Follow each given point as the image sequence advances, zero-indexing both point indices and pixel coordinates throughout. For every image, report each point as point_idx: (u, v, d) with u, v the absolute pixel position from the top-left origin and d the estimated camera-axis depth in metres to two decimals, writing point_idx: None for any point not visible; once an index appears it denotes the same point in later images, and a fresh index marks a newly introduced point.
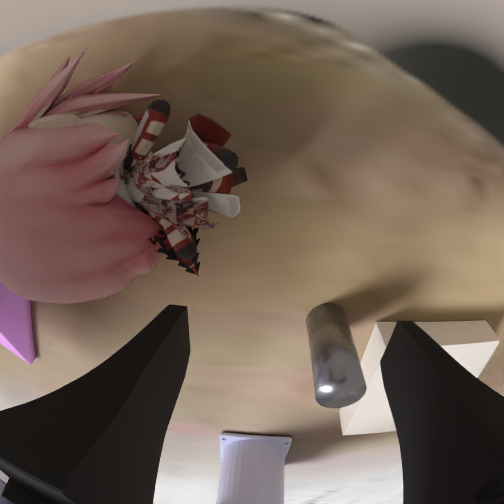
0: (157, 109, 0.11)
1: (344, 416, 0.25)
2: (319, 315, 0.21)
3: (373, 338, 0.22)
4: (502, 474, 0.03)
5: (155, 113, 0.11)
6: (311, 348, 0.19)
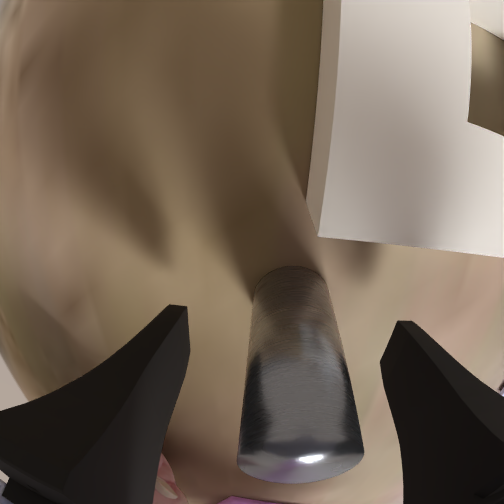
0: None
1: None
2: None
3: None
4: (502, 474, 0.03)
5: None
6: None
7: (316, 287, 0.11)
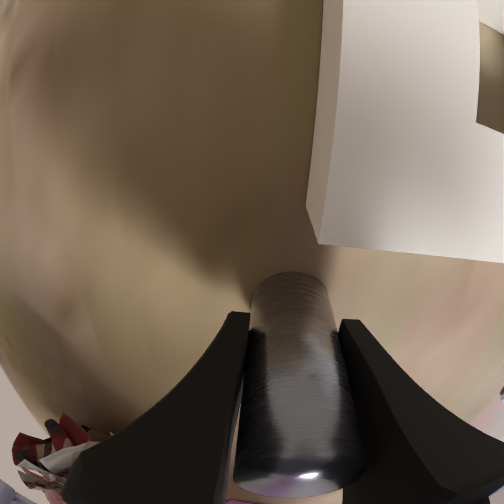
0: None
1: None
2: None
3: None
4: (424, 503, 0.03)
5: None
6: None
7: (316, 294, 0.10)
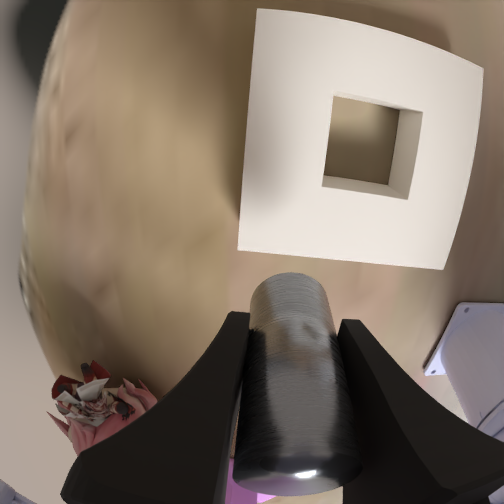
0: (58, 399, 0.19)
1: None
2: None
3: None
4: (424, 503, 0.03)
5: (59, 401, 0.19)
6: None
7: (316, 295, 0.10)
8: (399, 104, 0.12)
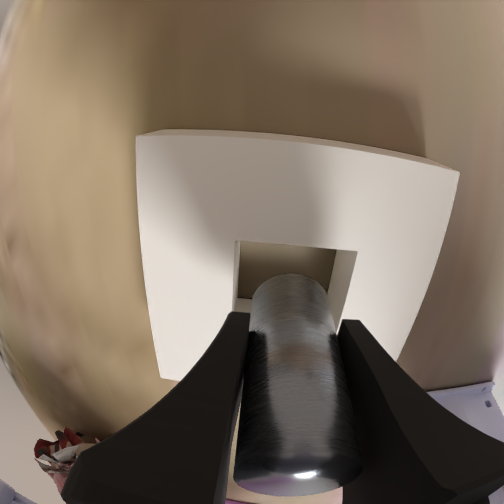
0: None
1: None
2: None
3: None
4: (424, 503, 0.03)
5: None
6: None
7: (318, 297, 0.10)
8: (324, 246, 0.11)
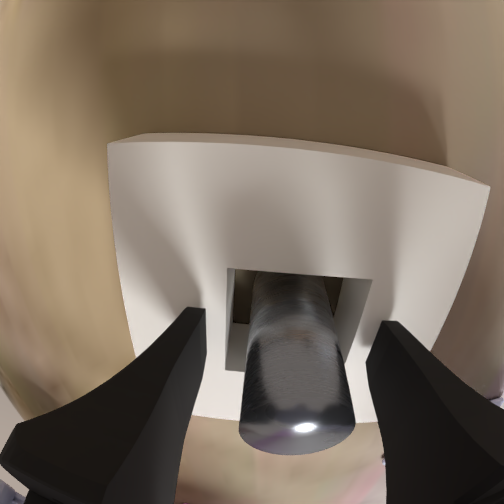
0: None
1: None
2: None
3: None
4: (482, 483, 0.03)
5: None
6: None
7: (314, 276, 0.12)
8: (333, 274, 0.09)
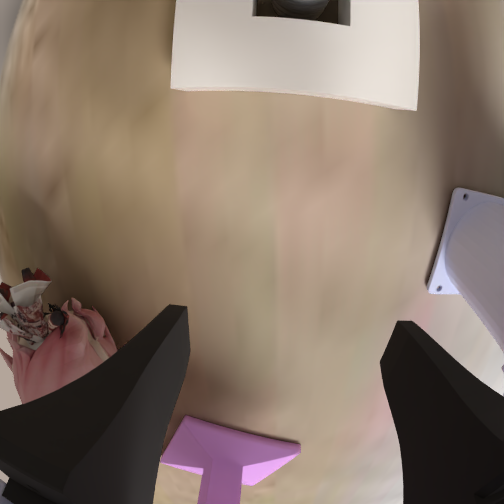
0: (1, 318, 0.17)
1: (383, 105, 0.14)
2: (275, 5, 0.12)
3: (205, 90, 0.15)
4: (502, 475, 0.03)
5: (1, 320, 0.16)
6: (297, 3, 0.10)
7: None
8: None
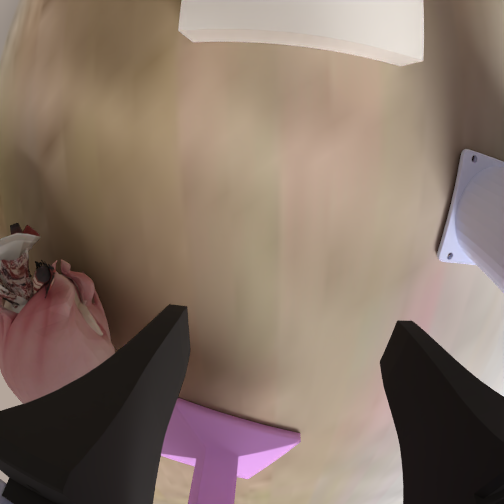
0: None
1: (390, 57, 0.13)
2: None
3: (212, 39, 0.14)
4: (502, 474, 0.03)
5: None
6: None
7: None
8: None
